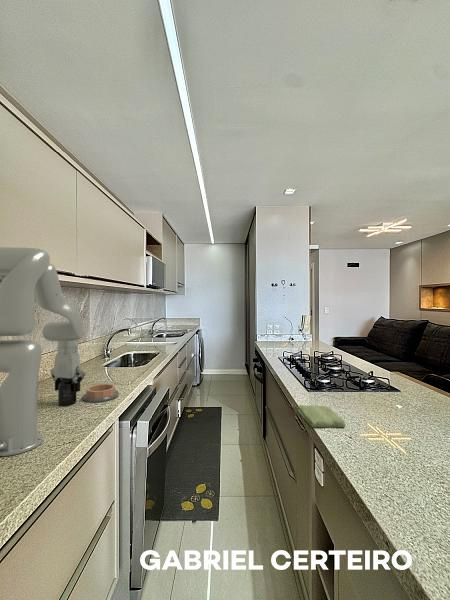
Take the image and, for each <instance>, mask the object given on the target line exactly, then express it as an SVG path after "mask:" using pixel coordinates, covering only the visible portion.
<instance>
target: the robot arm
mask: <svg viewBox="0 0 450 600" xmlns="http://www.w3.org/2000/svg"><path fill="white" fill-rule="evenodd" d="M50 260H51V259H50V254H49V253H48V252H47V251H46V250H44V249H40V248H35V247H7V246H4V247H3V246H0V280H1V282H0V337H21V336H27V335H29V334H31V333H32V332H33V331H34V328H35V326H36V325H35V324H36V319H35V318H36V316H35V315H36V314H35V311H36V309H35V299H36V303H37V305H38V307H40V308H42V309H43V310H46V311H48V312H51V313H53V314H57V315H59V316H61V317H63V318H65V319H67V320H61V321H52V322H48V323H46V324H45V325H44V326H43V328H42V331H41V333H42V337H43V338H44V339H45V340H46V341H50V342H57V347H56V350H57V353H56V354H55V357H54V361H53V362H54V363H53V368H51V369H50V370H49V371H50V374H51V377H52V378H53V381H54V391H55V392H58V384H59V383H60V382H61V378H67V379H71V378H72V379H73V381H74V382H75V383H73V392H74V393H76V394H77V393H78V392H80V391H81V382H82V380H83V379H85V375H86V371H84V370H83V369H82V368H81V359H80V355H79V354H80V353H78V352H79V350H78V349H79V345H78V343H79V340H81V339H82V338H83V337H84V333H85V326H84V323H83V319H82V314H81V313H80V311H79V310H78V309H77V308H76V306H74V305H73V304H72V303H71V302H69V301H68V300H67V299H65V297H64V294H63V290H62V287H61V284H60V279H59V276H58V271H57V269H56V266H55V265H54V264H52V263H50V262H51V261H50ZM42 356H43V350H42V346H41V345H40V344H39V343H38V342H36V341H34V340H28V339H6V340H5V339H4V340H3V339H2V340H1V339H0V374H1V373H3V374H6V373H7V374H8V375H7V376H6V378H5V379H4V380H3V381H2V383H1V385H0V457H9V456H14V455H19V454H23V453H26V452H29V451H31V450H33V449H35V448H37V447H38V446H40V445H41V444H42V443H43V442H44V435H43V434H42V433H41V432H38V415H39V414H38V413H39V411H38V409H39V408H38V405H39V404H38V403H39V401H38V400H39V398H38V395H39V391H38V390H39V386H38V385H39V371H40V366H41V362H42Z"/></svg>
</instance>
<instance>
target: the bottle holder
mask: <svg viewBox="0 0 450 600" xmlns="http://www.w3.org/2000/svg"><path fill="white" fill-rule="evenodd" d="M119 393H120V392H119V391H118V390H116V385H115V384H111V383H100V384H95V385H91V386H89V387H87V388H86V389H85V393H84V394H83V395H82V401H83V402H85V403H90V404H91V403H92V404H97V403H99V404H100V403H105V402H109V401H113V400H115V399H117V398H118V397H119Z"/></svg>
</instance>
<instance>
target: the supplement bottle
mask: <svg viewBox="0 0 450 600" xmlns="http://www.w3.org/2000/svg"><path fill="white" fill-rule="evenodd" d="M60 380H61V382H60V383H59V384H58V390H57V393H58V394H57V403H58V404H57V405H59V406H61V407H67V406H72V405H75V404H76V402H77V392H76V393H74V392H73V383H75V382H74V381H73V379H72V378H71V379H67V378H61V379H60Z"/></svg>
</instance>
